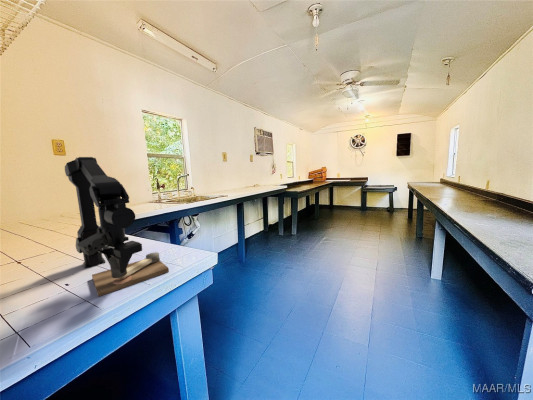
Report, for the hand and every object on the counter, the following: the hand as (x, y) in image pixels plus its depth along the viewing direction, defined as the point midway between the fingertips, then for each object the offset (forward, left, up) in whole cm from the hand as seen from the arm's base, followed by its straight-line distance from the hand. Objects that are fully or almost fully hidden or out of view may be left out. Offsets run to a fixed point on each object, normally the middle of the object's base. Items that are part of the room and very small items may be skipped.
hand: (118, 270), depth 68 cm
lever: (-4, +6, -3) cm, 8 cm away
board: (-5, +4, -5) cm, 8 cm away
